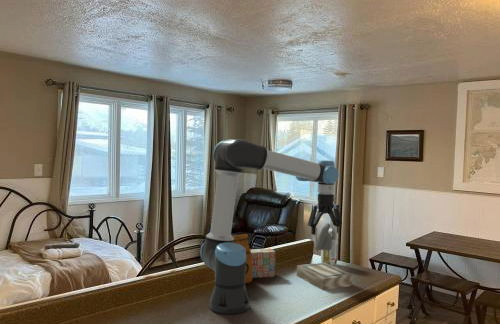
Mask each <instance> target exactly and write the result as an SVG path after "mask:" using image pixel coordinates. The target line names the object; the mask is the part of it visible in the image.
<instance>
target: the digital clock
mask: <svg viewBox="0 0 500 324" xmlns="http://www.w3.org/2000/svg"><path fill="white" fill-rule="evenodd" d="M329 228H330V229H331V224H330V223H329V222H327V223H325V224H324V226H323V227H322V228H321V231H320V234H319V235H318V237H317V242H315V245H314V249H315V251H321V250H331V248H332V240H333V239H332V237H331V236H330V234H329V232H328V231H329Z"/></svg>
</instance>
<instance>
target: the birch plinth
mask: <svg viewBox="0 0 500 324" xmlns="http://www.w3.org/2000/svg"><path fill="white" fill-rule="evenodd" d="M296 276H297V277H299V278H300V279H302V280H304V281H306V283H307V282H308V283H309V284H311V285H312V286H314V287H316V288H318V289H320V290H322V291H327V290H332V289H333V290H334V289H341V288H348V287H352V286H353V274H352V273H349V272H348V271H347V272H346V271H345V270H343V269H340V268H338V267H336V266H331V265H329V264H327V263H321V262H316V263H308V264H299V265H298V264H297V265H296Z"/></svg>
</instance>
